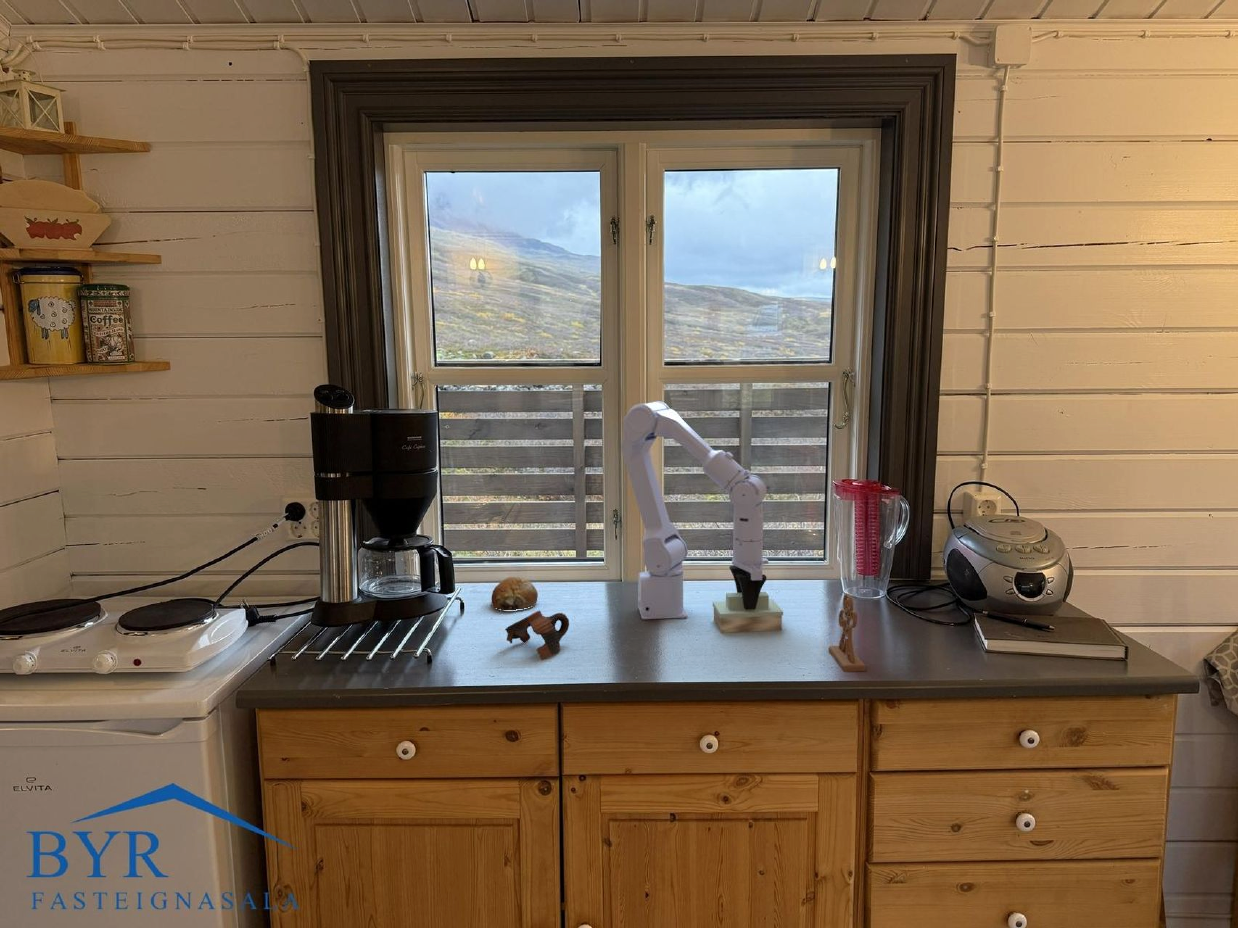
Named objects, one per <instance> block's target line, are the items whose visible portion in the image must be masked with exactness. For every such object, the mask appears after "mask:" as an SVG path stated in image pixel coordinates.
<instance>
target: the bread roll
mask: <svg viewBox="0 0 1238 928" xmlns="http://www.w3.org/2000/svg"><path fill="white" fill-rule="evenodd" d="M538 594H539V593H538V591H537V588H536V587H535V585H534V584H533V583H532V582H530V581H529V580H528V579H526V578H524V577H521V576H509V577H506V578H504V579H503V580H501V581H500V582H499V583H498V584H497V585H495V587H494V589H493V591H492V595H491V605H492V606H493V608H494V609H495V608H497V609H501V610H516V609H524V608H528V607H531V606H532V607H533V605H534V606H535V605H537V603H538V596H539V595H538ZM536 602H537V603H536ZM532 607H531V608H532ZM497 609H496V610H497Z"/></svg>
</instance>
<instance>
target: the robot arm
mask: <svg viewBox="0 0 1238 928" xmlns="http://www.w3.org/2000/svg"><path fill="white" fill-rule="evenodd" d="M622 423H623V426H624V427H623V434H622V440H621V452H622V455H623V459H624V463H625V465H626V469H627V473H628V475H629V480H630V482H631V486H632V489H633V493H634V496H635V500H636V502H637V506H638V510H639V512H640V513H639V514H640V517H641V519H642V524H643V527H644V529H645V531H644V534H643V535H644V536H643V538H642V546H643V564H644V566H645V568H646V569H647V570H646V571H641V572H639V573H638V574H637V575H638V577H637V579H638V580H637V584H638V585H637V592H638V593H637V594H638V598H637V606H638V610H639V611H638V612H639V614H640V617H641V619H642V620H659V619H660V620H661V619H677V618H679V619H681V618H683V619H684V618H685V619H686V618H688V616H689V614H688V612H687V610H686V609H685V607H684V567H683V562H684V561H685V560H686V558H687V556H688V546H687V544H686V542H685V541H684V539H683V538H682V537H681V536H680V533H679V530H678V528H677V527H676V526H675V525H673V523H671V520H670V517H669V514H668V510H667V506H666V504H665V501H664V497H663V494H662V493H663V492H662V491H661V487H660V484H659V480H658V477H657V474H656V470H655V467H654V464H653V459H652V456H651V453H650V449H651V447H652V446H653V444H654V442H655V441H656V439H657V437H659V438H670V439H673V440H674V441H675V442H676V443H678V444H679V445H680V446H681V447H682V448H683V449H684V450H686V451H687V452H688V453H690V454H691V455H693V457H694V458H696V459H697V460H698V461H700V462H701V464H702V465H701V466H702V471H703V474H706V476H707V477H709V479H711V480H712V481H713V482H714V483H716V485H718V487H719V488H721V489H722V490H723V491H724V492H726V494H728V498H729V501H730V503H731V504H732V506H733V518H732V519H733V520H732V522H733V526H732V527H733V528H732V530H733V533H732V534H733V535H732V537H733V539H732V541H733V543H732V549H733V550H732V559H731V564H732V565H730V566H729V567H728V569H729V570H730V572H731V574H732V576H733V580H734V584H735V587H736V588H735V589H736V593H742V598H743V605H744V608H745V609H746V610H747V609H756V606H757V602H758V598H759V594H760V592H762V591H761V590H762V588H763V586H764V584H765V582H766V581H767V576H766V575H765V574H763V567H764V565H768V564H769V559H768V558H765V557H763V547H764V545H763V542H764V540H763V539H764V513H763V511H764V508H763V507H764V502H763V501H764V500H765V498H766V497H767V494H768V493H767V492H768V490H767V486H766V483H765V482H764V481H763V479H762V478H761V477H760V476H759V475H756V474H752V472H751V471H750V470H749V469H745V468H743V466H741V465H740V464H739V463H738V462H737V461H736V460H735V459H733V457H734V454H732V453H731V452H730V451H727V452H725V451H724V450H722V449H719V450H718V449H717V450H715V449H713V448H712V447H711V446H710V445H709V444H708V443H707V442H706V441H705V440H704V439H703V438H702V437H701V436H700V435H699V433H698V434H697V432H696V431H695V430H694V429H693V428H691V426H690V425H689V424H688V423H686V421H685V420H683V418H682V417H681V416H680V415H679V414H678V412H677V411H675V410H674V409H673V408H670V407H669V405H668V404H666V403H665V402H663V401H660V400H659V401H658V400H657V401H656V400H655V401H652V402H646V403H637V404H635V405H633V406H631V407H630V409H628V412H627V413H626V415H625V416H624V418H623V419H622Z"/></svg>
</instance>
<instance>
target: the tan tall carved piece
mask: <svg viewBox="0 0 1238 928" xmlns="http://www.w3.org/2000/svg"><path fill="white" fill-rule="evenodd" d="M842 605H843V607H842V608H843V609H840V611H839V613H838V625H839V627H840V628H842V634H841V636H840V640H839V644H838V645H830V646H828V653H829V654H830V656H831V657H832V659H834V661H835V662H836V663H837V665H838V667H839V668H840V669H841V671H843V672H865V671H866V665H865V663H864V662H863V660H862V659H861V658H860V657H859V656H858V655H857V654H856V653H855V651H854V646H853V645H854V644H853V638H852V637H853V629H855V628H857V623H858V613H857V610H854V600H853V597H852V595H851V594H850V593H848V594H846V593H845V594H844V595H843V599H842ZM850 622H852V624H851V623H850ZM846 637H847V638H846Z"/></svg>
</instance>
